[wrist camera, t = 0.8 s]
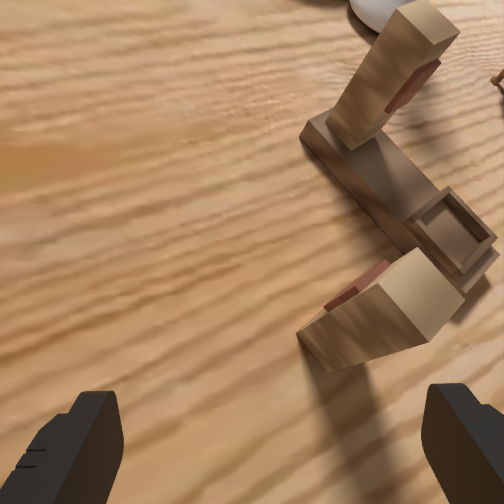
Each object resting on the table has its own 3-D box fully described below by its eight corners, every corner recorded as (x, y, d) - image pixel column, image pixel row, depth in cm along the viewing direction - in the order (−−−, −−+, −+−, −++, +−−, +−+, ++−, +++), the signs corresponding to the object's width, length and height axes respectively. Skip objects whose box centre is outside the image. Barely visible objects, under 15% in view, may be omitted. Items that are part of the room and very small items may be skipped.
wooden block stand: (298, 136, 41) (374, 3, 28) (340, 114, 44) (425, -14, 31) (446, 302, 37) (609, 233, 24) (480, 264, 40) (640, 187, 28)
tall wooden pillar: (291, 328, 32) (371, 275, 21) (323, 300, 33) (411, 240, 23) (327, 373, 31) (429, 342, 20) (358, 343, 33) (465, 300, 22)
